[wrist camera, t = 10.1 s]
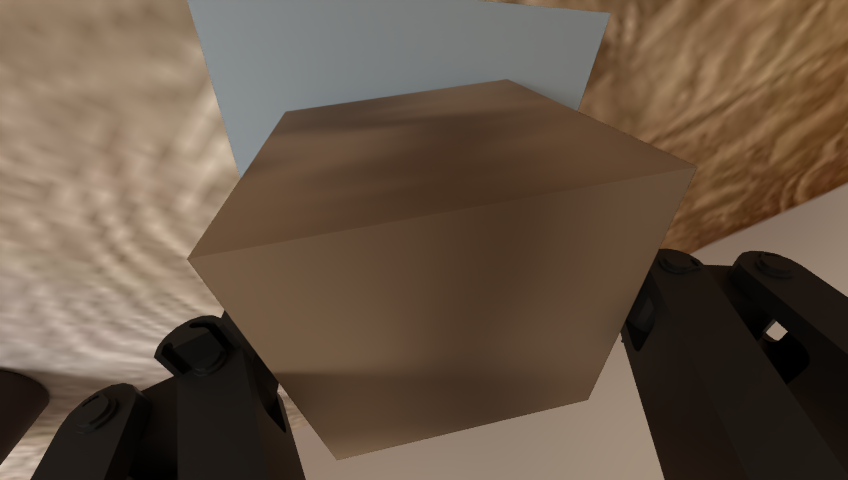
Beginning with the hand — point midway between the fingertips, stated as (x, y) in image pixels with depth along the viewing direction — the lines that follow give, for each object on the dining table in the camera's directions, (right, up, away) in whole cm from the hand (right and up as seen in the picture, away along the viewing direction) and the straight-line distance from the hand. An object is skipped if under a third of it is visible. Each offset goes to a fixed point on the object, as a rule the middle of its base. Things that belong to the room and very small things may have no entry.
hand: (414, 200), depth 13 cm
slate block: (-1, +4, +6) cm, 7 cm away
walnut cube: (0, 0, 0) cm, 0 cm away
